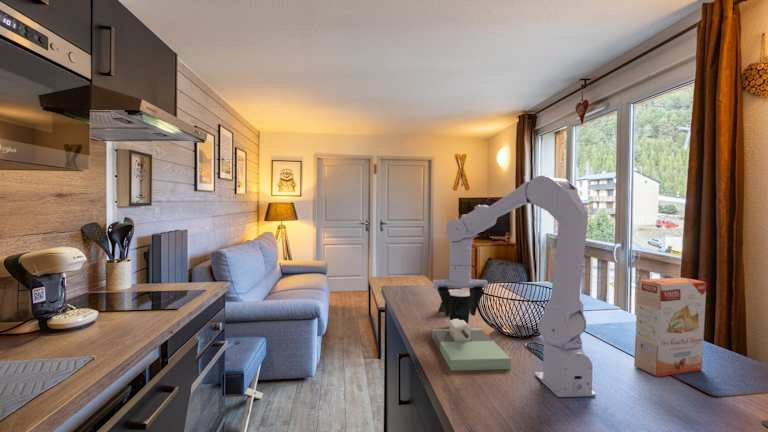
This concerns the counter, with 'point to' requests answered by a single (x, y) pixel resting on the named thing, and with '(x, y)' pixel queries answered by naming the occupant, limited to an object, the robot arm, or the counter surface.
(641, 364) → the cracker box
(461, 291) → the dixie cup
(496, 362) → the board
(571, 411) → the counter surface
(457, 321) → the plug
